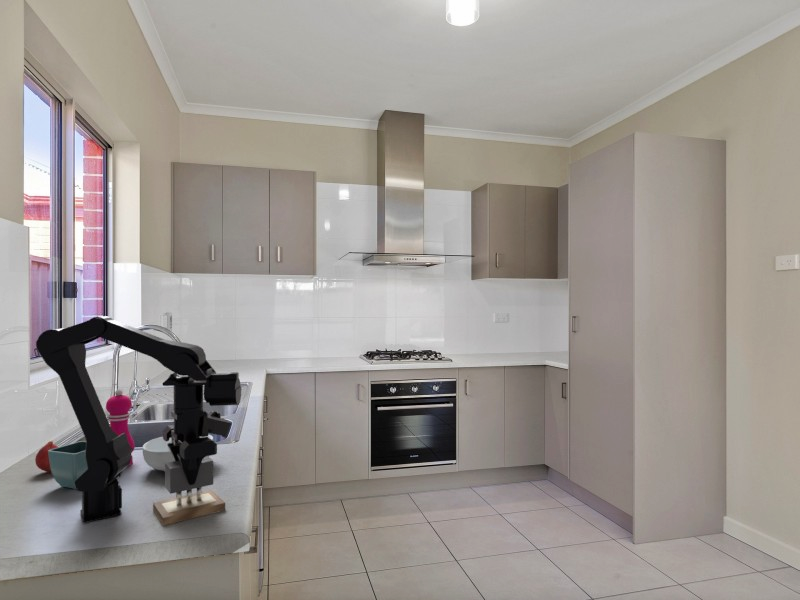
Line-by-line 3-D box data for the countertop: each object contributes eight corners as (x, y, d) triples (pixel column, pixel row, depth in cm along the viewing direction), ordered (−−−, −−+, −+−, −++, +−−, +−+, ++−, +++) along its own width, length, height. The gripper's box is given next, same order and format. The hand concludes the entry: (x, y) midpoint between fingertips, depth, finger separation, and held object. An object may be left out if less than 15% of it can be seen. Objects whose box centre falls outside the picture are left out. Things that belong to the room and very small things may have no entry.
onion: (37, 478, 125) (36, 445, 124) (34, 472, 129) (33, 440, 129) (65, 472, 128) (64, 441, 128) (61, 467, 133) (61, 436, 133)
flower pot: (81, 476, 126) (81, 440, 126) (108, 480, 123) (108, 443, 123) (46, 488, 118) (46, 450, 118) (74, 493, 115) (74, 454, 115)
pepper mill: (127, 458, 140) (127, 385, 139) (139, 464, 135) (139, 388, 135) (98, 465, 134) (98, 389, 134) (110, 471, 129) (109, 392, 129)
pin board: (163, 525, 99) (163, 517, 99) (153, 510, 106) (153, 502, 106) (225, 509, 106) (225, 502, 106) (211, 496, 113) (211, 489, 113)
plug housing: (170, 493, 102) (170, 468, 102) (165, 487, 105) (165, 462, 105) (213, 484, 107) (213, 460, 107) (206, 478, 110) (206, 455, 110)
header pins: (177, 506, 104) (176, 489, 104) (175, 504, 105) (175, 488, 105) (202, 500, 107) (202, 484, 107) (200, 499, 108) (200, 482, 108)
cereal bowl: (183, 454, 143) (182, 429, 143) (227, 462, 136) (227, 436, 136) (127, 473, 128) (127, 445, 128) (174, 484, 121) (174, 454, 121)
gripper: (242, 408, 103) (242, 485, 103) (214, 394, 118) (214, 461, 118) (184, 416, 96) (185, 498, 97) (162, 400, 111) (162, 471, 112)
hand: (188, 481), depth 106 cm, fingers closed on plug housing, 4 cm apart
